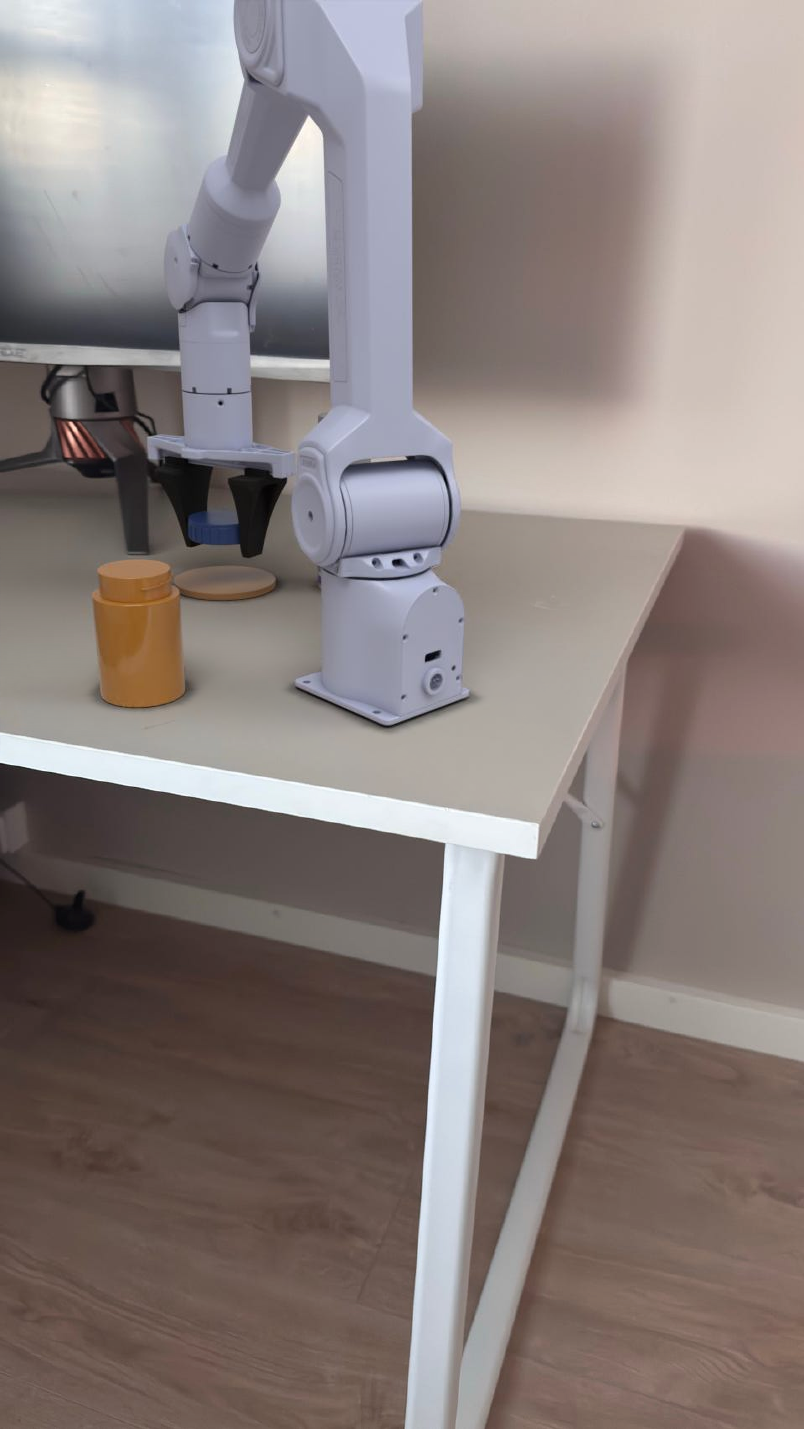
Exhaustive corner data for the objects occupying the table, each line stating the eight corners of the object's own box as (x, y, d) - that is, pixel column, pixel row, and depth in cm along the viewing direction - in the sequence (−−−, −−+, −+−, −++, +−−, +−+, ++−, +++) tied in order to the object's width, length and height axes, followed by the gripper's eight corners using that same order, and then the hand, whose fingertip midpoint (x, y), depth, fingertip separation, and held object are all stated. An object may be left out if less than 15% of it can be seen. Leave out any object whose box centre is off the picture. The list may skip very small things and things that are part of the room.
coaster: (296, 587, 96) (296, 580, 96) (212, 607, 90) (212, 600, 90) (235, 566, 102) (235, 560, 102) (154, 583, 96) (153, 577, 96)
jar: (202, 693, 73) (195, 569, 69) (129, 714, 69) (119, 585, 66) (155, 670, 76) (147, 552, 73) (85, 690, 73) (72, 567, 69)
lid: (235, 526, 98) (235, 506, 98) (270, 539, 94) (270, 519, 93) (176, 534, 95) (175, 514, 94) (209, 549, 91) (208, 528, 90)
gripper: (117, 387, 90) (130, 547, 95) (257, 403, 83) (262, 573, 88) (174, 380, 95) (183, 531, 101) (309, 394, 89) (310, 555, 94)
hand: (223, 550), depth 95 cm, fingers closed on lid, 6 cm apart
